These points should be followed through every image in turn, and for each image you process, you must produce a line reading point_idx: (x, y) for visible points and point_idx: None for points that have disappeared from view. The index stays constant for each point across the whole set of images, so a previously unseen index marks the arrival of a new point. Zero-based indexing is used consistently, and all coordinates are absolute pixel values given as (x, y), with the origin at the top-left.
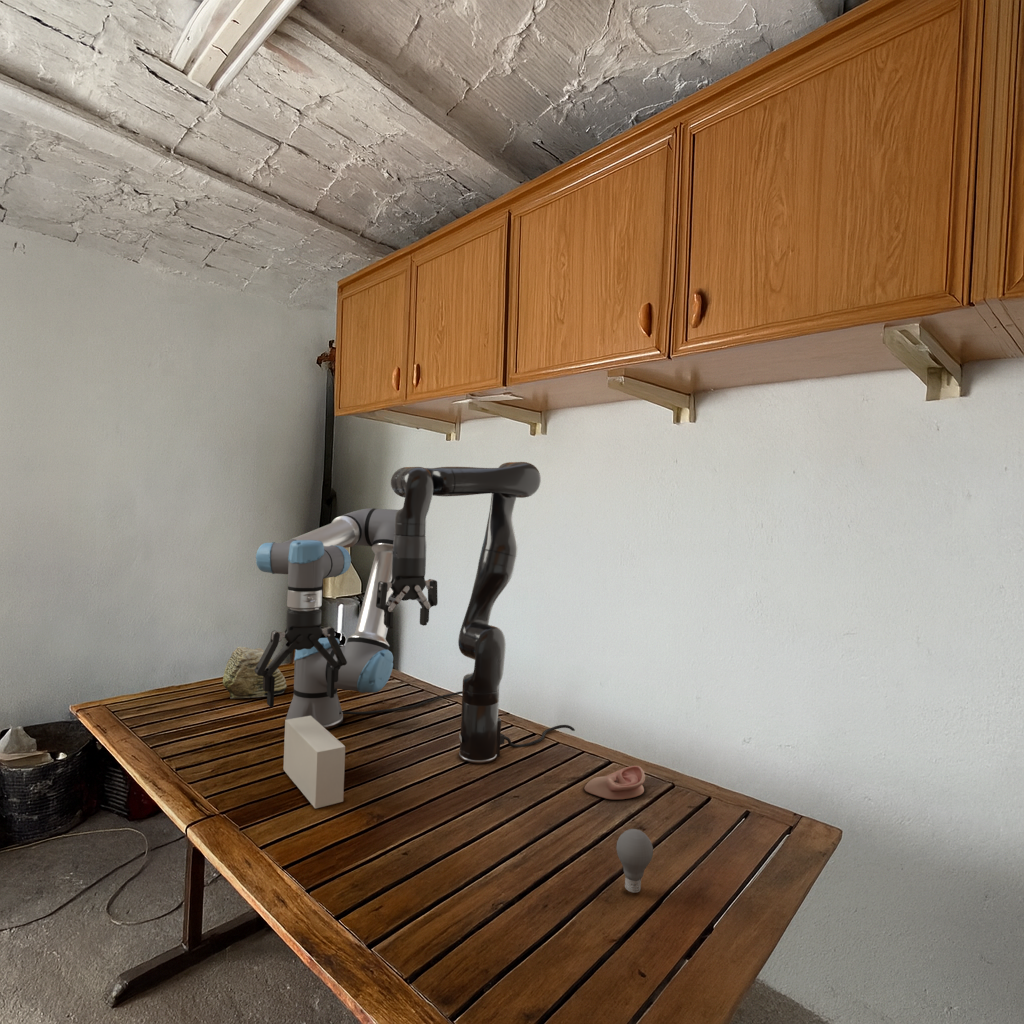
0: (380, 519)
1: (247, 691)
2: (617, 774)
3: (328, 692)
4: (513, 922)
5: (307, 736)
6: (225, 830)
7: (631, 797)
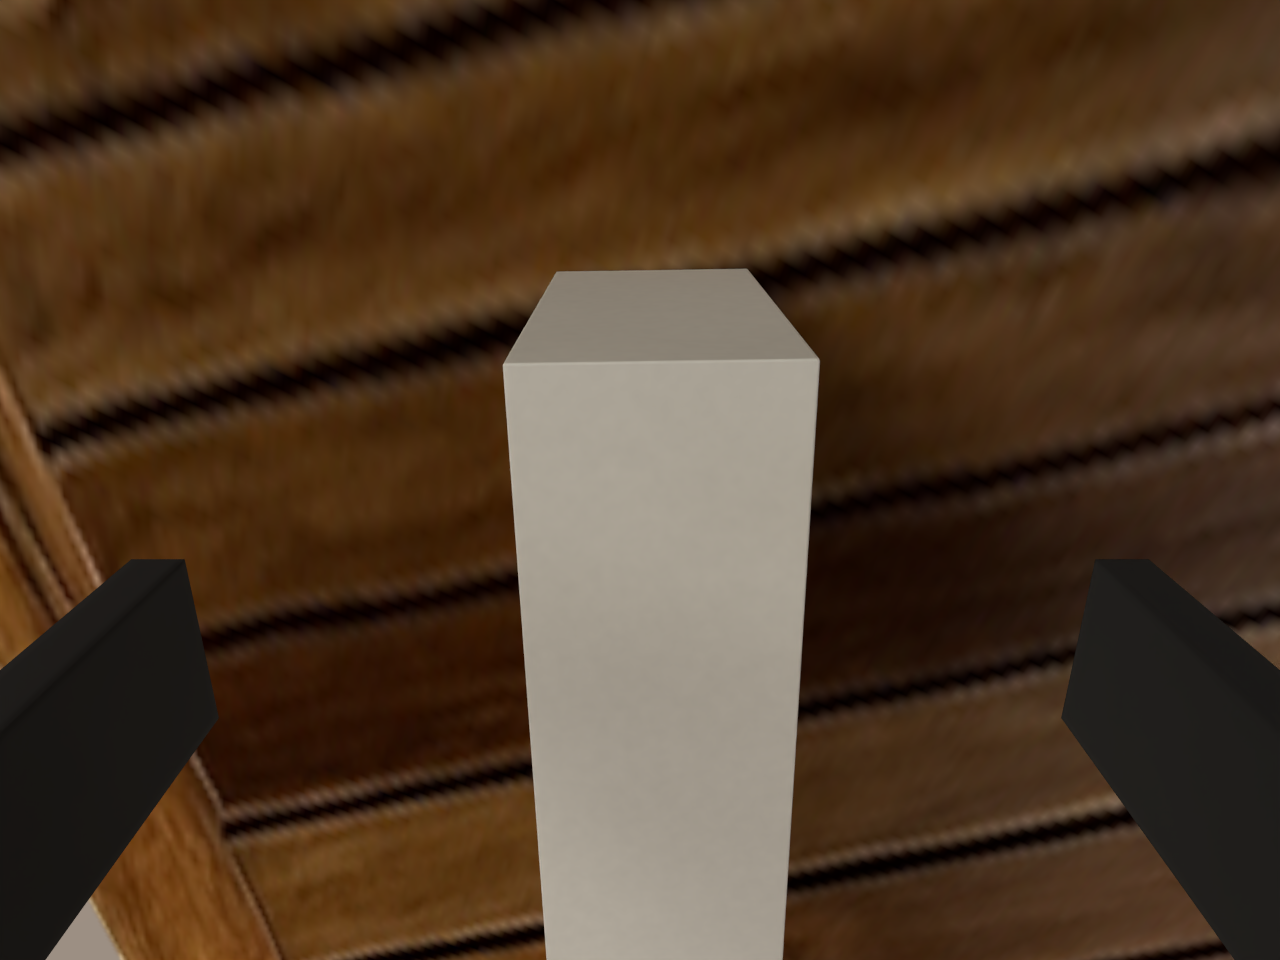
0: None
1: None
2: None
3: (1108, 665)
4: None
5: (583, 870)
6: (159, 812)
7: None
